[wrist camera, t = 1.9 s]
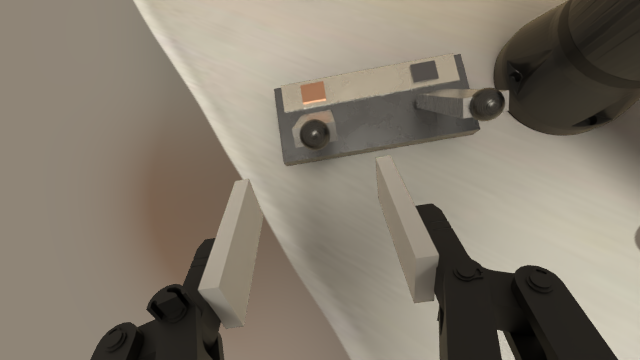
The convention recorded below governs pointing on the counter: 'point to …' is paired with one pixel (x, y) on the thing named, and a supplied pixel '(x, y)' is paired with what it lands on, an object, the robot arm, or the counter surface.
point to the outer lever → (315, 130)
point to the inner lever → (466, 102)
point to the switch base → (374, 108)
